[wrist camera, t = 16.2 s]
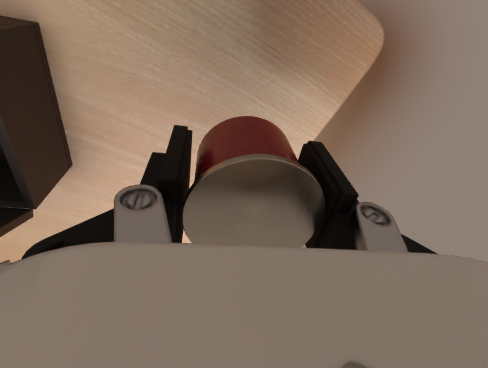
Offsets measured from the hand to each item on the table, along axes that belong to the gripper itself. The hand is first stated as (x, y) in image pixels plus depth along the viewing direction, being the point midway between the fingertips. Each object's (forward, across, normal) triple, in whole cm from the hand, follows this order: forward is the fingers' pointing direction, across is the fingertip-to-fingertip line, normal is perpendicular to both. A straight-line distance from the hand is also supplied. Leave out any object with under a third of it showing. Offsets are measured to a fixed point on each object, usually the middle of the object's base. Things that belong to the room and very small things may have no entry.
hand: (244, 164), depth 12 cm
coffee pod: (0, 0, 0) cm, 0 cm away
